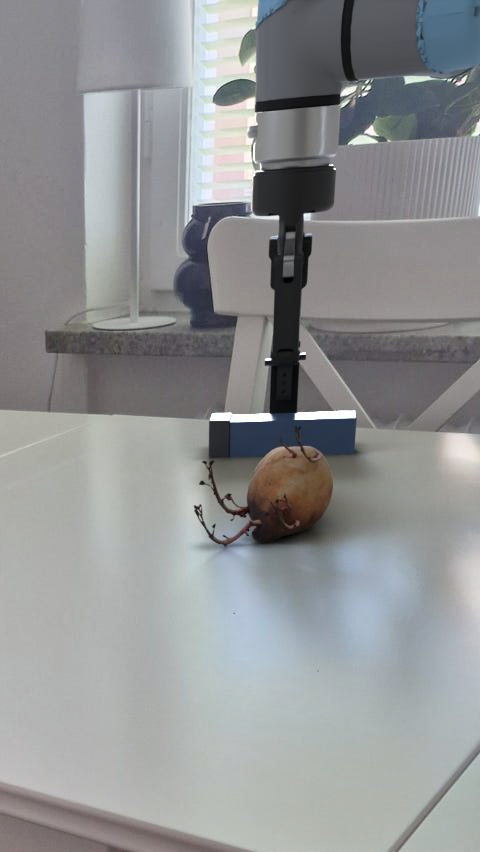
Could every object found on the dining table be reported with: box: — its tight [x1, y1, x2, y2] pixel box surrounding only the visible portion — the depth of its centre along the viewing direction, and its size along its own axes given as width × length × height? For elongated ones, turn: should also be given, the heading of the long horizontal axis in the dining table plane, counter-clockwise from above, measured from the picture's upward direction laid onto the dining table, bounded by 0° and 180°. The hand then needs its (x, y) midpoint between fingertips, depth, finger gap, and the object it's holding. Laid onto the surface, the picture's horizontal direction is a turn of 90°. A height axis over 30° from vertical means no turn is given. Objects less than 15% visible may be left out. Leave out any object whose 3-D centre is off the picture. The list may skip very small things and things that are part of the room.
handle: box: [208, 410, 358, 459], centre depth 115 cm, size 14×4×4 cm, turn 77°
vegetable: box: [192, 424, 334, 548], centre depth 93 cm, size 16×11×10 cm
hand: (282, 431), depth 119 cm, fingers closed
